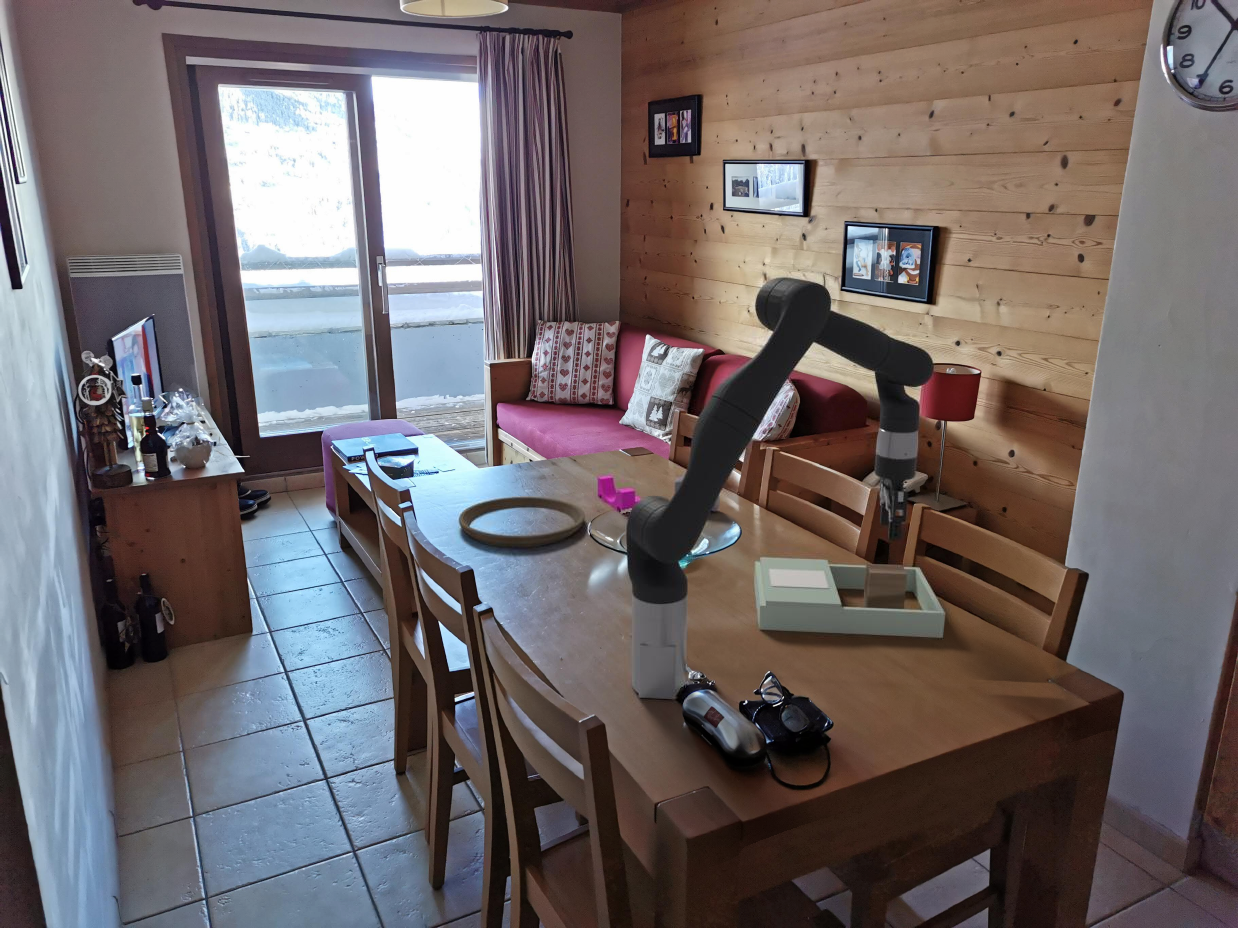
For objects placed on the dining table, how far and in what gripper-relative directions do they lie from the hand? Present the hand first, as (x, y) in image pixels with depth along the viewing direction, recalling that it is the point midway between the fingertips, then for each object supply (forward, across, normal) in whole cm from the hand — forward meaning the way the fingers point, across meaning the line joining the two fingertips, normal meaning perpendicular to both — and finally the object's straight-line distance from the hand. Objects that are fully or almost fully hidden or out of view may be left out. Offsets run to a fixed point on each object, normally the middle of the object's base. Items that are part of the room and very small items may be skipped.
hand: (889, 532), depth 174 cm
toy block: (+17, +57, +59) cm, 83 cm away
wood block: (+17, 0, 0) cm, 17 cm away
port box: (+17, 0, +8) cm, 18 cm away
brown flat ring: (+17, +38, +81) cm, 91 cm away
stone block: (+17, +54, +38) cm, 68 cm away
